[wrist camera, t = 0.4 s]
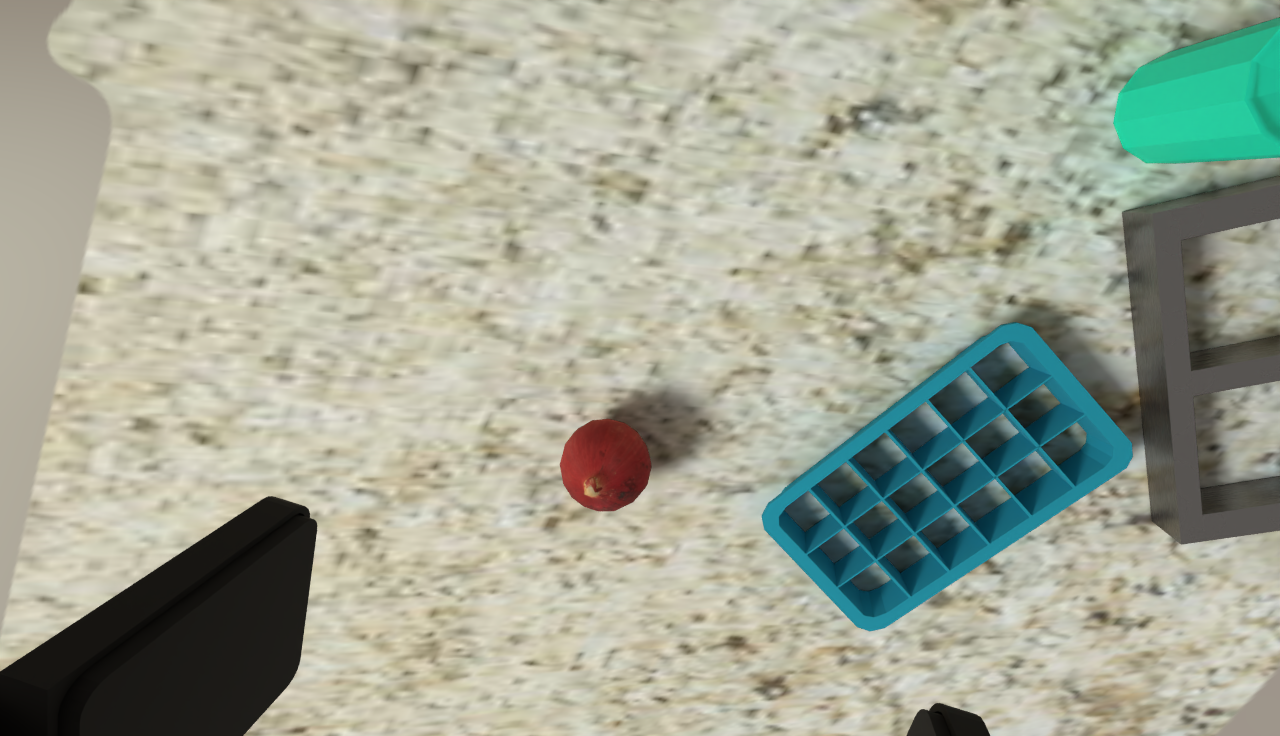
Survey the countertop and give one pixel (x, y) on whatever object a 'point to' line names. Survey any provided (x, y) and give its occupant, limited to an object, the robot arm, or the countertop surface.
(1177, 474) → the hollow block
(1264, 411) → the countertop surface
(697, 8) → the countertop surface
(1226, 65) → the candle
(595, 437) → the onion
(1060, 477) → the ice cube tray
